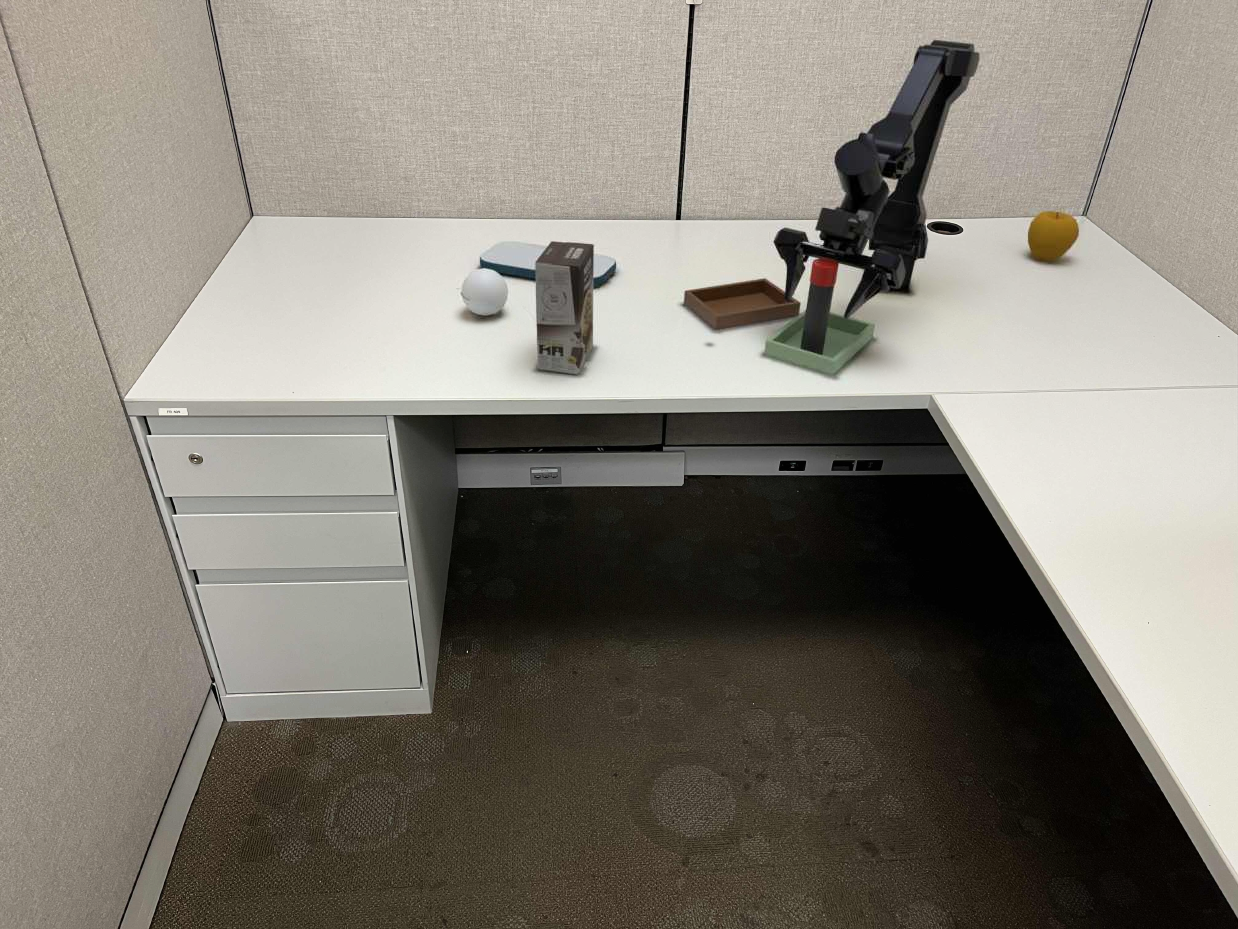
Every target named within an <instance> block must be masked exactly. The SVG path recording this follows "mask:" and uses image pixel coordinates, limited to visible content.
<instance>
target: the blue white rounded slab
mask: <svg viewBox="0 0 1238 929" xmlns="http://www.w3.org/2000/svg"><path fill="white" fill-rule="evenodd" d="M547 246H548V245H541V244H534V243H526V242H522V241H521V242H520V241H501V242H498V243H496V244H494V245H492V247H490V248H489V249H487V250H486V251H484V252H483V253H482V254H480V256H479V266H480V267H481V269H482V268H486V269H490V270H494V271H496V272H497V273H498V274H505V275H511V276H519V277H524V278H530V279H534V280H536V276H535V262H536V261H537V259H538V258H539V257H540V256H541V254H542V253H543V252H544V250H545V249H546V248H547ZM616 270H617V261H616V259H615V258H613V257H611V256H607V255H603V254H597V253H594V267H593V287H598V286H600V285H601V286H602V285H603V284H604V283H605V282H606V281H607V280H608V279H609V278H610V277H611V276H612V275H613V274H614V273H615V272H616Z"/></svg>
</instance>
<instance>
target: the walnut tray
mask: <svg viewBox="0 0 1238 929" xmlns="http://www.w3.org/2000/svg"><path fill="white" fill-rule="evenodd" d="M784 298H785V290H783V289H782V288H780V287H779V286H778V285H776V284H774V283H773V282H772V281H770V280H769V279H767V278H765V277H763V278H757V279H752V280H745V281H738V282H732V283H726V284H719V285H718V284H717V285H712V286H707V287H705V286H704V287H701V288H700V287H699V288H694V289H693V288H691V289H688V290H684V293H683V306H684V307H687V308H688V309H689V310H691V311H692V312H693V313H694V314H696V315H697V316H698V317H699V318H700V319H701V320H702V321H704V323H706V324H707V325H708V326H709V327H710V328H712V329H713V330H714V331H718V330H719V331H720V330H724V329H730V328H735V327H736V328H737V327H742V326H747V325H753V324H759V323H764V322H770V321H776V320H781V319H788V318H793V317H794V318H795V317H797V316H798V315H800V310H801V305H802V304H801V303H802V302H801V301H800V300H798V299H796V298H795V297H793V296H792V298H791V299H790V301H789V302H788V303H786V302H785V300H784Z"/></svg>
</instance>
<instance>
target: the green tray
mask: <svg viewBox="0 0 1238 929" xmlns="http://www.w3.org/2000/svg"><path fill="white" fill-rule="evenodd" d="M805 313H806V309H804V310H802V312H801V313H799V315H798V316H795V317H794V318H793V319H792V320H790V321H789V322H788V323H787V324H786V325H784V326H783V327H781V328H780V329H778V331H776V332H775V333H774V334H773V335H771V336H770V337H769V338H768V339H766V340H765V344H764V345H765V346H764V352H763V355H764V356H769V357H772V358H774V359H778V360H781V361H784V362H788V363H791V364H793V365H797V366H801V367H803V368H807V369H810V370H814V371H815V372H820V373H823V374H826V375H830V376H834V375H835V374H837V372H838V371H839V370H840V369H841V368H842V367H844V365H846V364H847V363H848V362H849V361H850V360H851V359H852V358H853V357H854V356H855V355H856V354H857V353H858V352H859V351H860V350H861V349H863V347H865V346H866V345H867V344H868V343H869V342H870V341H871V340H872V339H873V336H874V331H875V326H876V324H875V323H873V322H872V323H871V322H868V321H865V320H860V319H857V318H854V317H851V316H850V317H849V318H848V319H845V318H844V315H842V314H838V313H835V312H831V311H830V314H829V320H828V326H827V332H826V338H825V344H824V350H823V355H819V354H816V353H813V352H809V351H806V350H803V349H800V346H801V339H802V333H803V326H804V320H805Z"/></svg>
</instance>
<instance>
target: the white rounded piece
mask: <svg viewBox="0 0 1238 929" xmlns="http://www.w3.org/2000/svg"><path fill="white" fill-rule="evenodd" d="M457 290H461V291H460V296H461V298H462V301H463V304H464V305H465V306H466V308H467V309H468V310H470V311H471V312H473V313H474V314H476V315H478V316H485V317H487V316H491V315H495V314H497V313H499V312H500V311H501V310H502V309H503V308H504V307H505V305H506V303H507V301H508V296H509V289H508V284H507V282H506V280H505V279H504V277H503V276H502V275H501V273H499V272H496V271H494V270H490V269H486V268H482V267H481V268H478V269H475V270H472V271H471V272H469V274H468V275H466V277H465V278H464V279H463V282H462V285H461V288H457Z"/></svg>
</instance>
